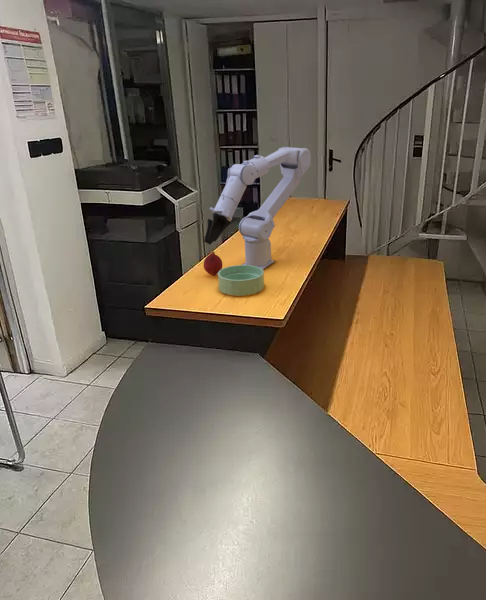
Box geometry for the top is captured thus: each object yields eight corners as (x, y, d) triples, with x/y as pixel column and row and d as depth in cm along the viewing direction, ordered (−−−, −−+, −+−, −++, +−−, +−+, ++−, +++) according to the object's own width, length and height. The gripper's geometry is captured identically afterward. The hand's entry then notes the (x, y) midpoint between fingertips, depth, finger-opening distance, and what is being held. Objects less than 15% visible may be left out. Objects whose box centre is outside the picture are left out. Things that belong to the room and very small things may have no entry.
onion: (219, 279, 148) (217, 254, 145) (201, 278, 149) (199, 253, 146) (225, 273, 153) (224, 249, 150) (208, 272, 155) (206, 248, 151)
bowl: (225, 279, 148) (224, 264, 147) (267, 281, 147) (267, 265, 145) (213, 295, 136) (212, 279, 134) (259, 298, 135) (258, 281, 133)
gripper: (212, 199, 149) (193, 238, 147) (221, 189, 136) (200, 232, 134) (232, 210, 151) (214, 248, 150) (243, 201, 138) (223, 243, 136)
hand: (209, 241), depth 142 cm, fingers open, 7 cm apart
